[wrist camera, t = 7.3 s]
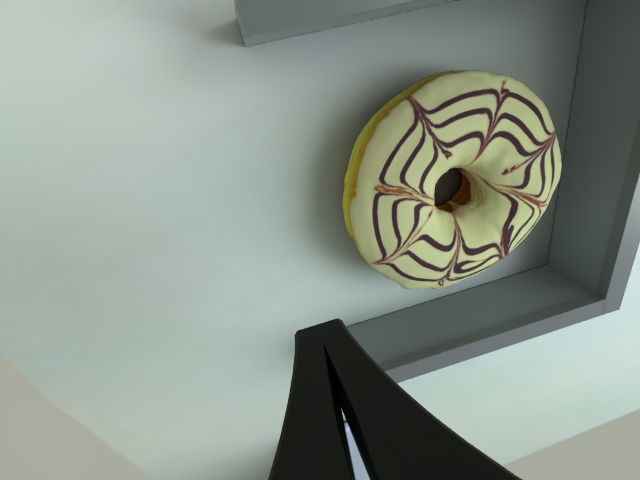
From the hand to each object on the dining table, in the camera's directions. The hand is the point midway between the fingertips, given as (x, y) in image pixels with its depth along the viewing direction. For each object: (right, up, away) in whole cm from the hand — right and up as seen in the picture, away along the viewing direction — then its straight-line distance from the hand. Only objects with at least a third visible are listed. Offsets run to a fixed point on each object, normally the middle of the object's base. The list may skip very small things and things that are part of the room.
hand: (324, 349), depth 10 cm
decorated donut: (+6, +7, +8) cm, 12 cm away
